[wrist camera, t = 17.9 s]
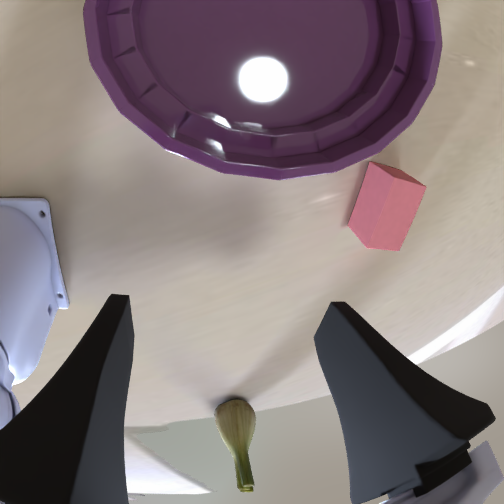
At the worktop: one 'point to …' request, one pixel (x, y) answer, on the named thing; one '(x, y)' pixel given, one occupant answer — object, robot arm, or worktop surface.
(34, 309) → the robot arm
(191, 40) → the bowl
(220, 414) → the fennel bulb
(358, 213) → the eraser
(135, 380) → the worktop surface
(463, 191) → the worktop surface
